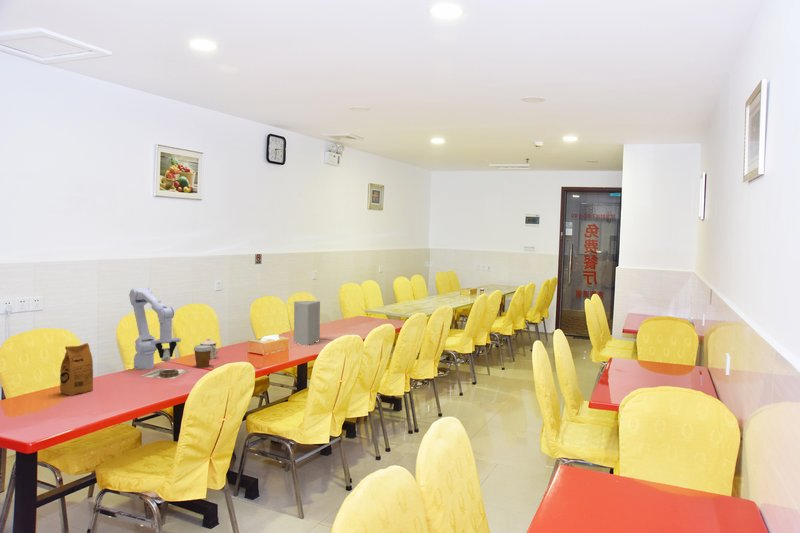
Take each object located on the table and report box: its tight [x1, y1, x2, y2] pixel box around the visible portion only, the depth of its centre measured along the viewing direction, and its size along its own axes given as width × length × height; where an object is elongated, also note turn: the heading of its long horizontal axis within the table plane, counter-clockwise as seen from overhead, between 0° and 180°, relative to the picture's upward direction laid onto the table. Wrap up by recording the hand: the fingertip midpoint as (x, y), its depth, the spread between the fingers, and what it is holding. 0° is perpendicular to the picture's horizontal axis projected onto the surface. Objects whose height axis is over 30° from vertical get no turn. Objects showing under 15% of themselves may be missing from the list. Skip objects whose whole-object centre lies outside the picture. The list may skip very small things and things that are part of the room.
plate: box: [139, 368, 191, 379], centre depth 300 cm, size 18×18×1 cm
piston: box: [160, 347, 172, 362], centre depth 300 cm, size 4×4×6 cm
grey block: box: [293, 300, 321, 346], centre depth 395 cm, size 19×15×28 cm
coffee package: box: [59, 342, 94, 396], centre depth 266 cm, size 10×12×22 cm
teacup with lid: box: [199, 337, 219, 360], centre depth 342 cm, size 12×9×12 cm
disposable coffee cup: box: [193, 344, 212, 368], centre depth 318 cm, size 10×10×12 cm
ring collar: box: [159, 369, 179, 379], centre depth 296 cm, size 9×9×2 cm
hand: (166, 357), depth 300 cm, fingers closed on piston, 4 cm apart
